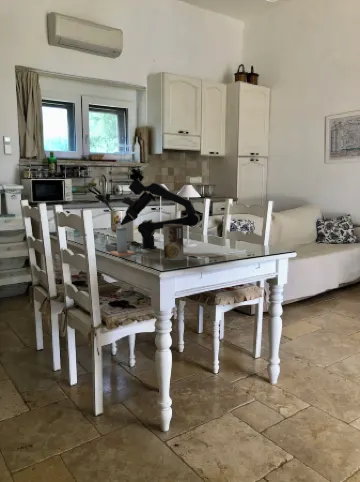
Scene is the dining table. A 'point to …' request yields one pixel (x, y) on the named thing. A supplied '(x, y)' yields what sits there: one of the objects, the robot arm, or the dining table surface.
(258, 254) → the dining table surface
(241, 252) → the dining table surface
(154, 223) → the robot arm
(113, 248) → the dock
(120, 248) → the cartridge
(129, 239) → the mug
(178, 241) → the coffee box
